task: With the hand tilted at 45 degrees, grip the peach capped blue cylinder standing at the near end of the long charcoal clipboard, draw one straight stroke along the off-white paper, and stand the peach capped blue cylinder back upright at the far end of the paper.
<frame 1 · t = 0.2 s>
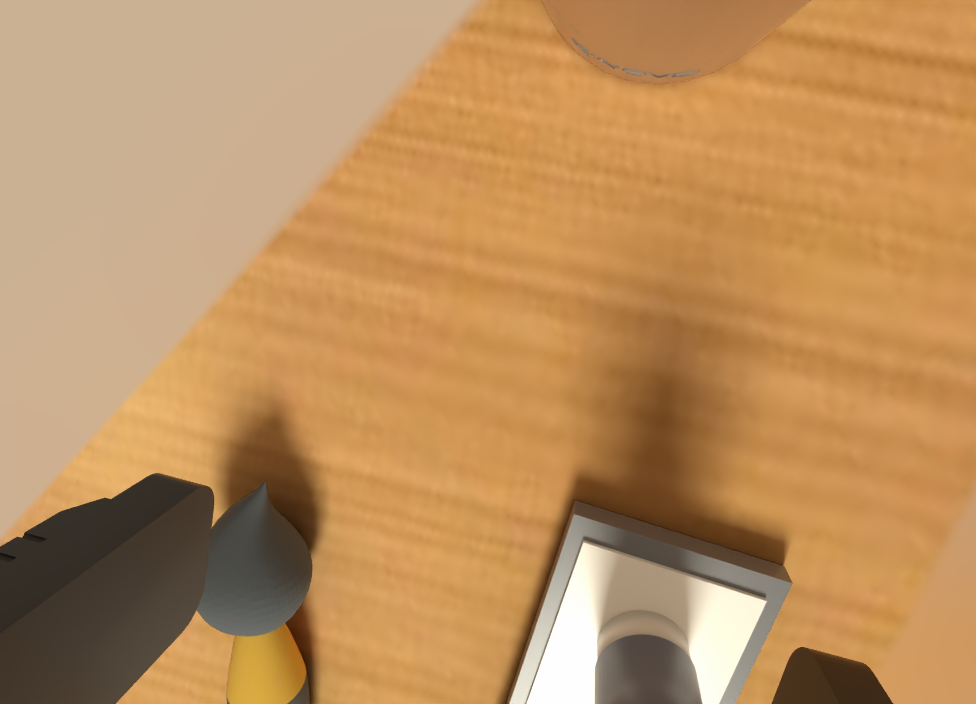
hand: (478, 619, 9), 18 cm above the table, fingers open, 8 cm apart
paintbrush: (295, 633, 32), on the table
peach capped blue cylinder: (642, 649, 27), point 1 cm above the table, touching clipboard
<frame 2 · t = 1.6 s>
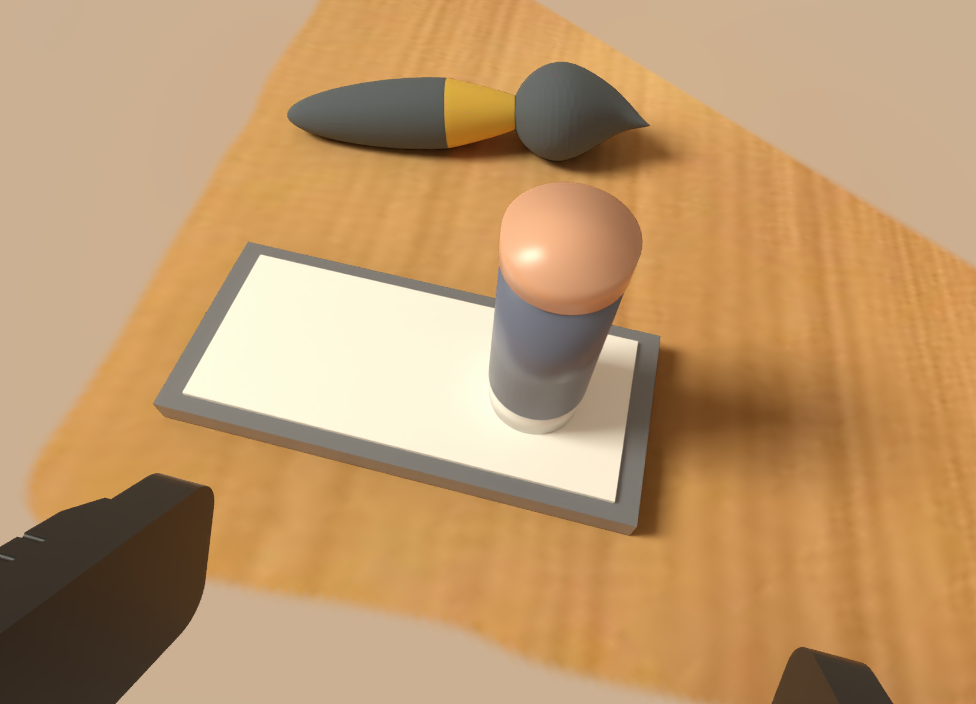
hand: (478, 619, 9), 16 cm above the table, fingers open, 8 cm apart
paintbrush: (464, 151, 37), on the table
clipboard: (421, 381, 29), on the table
peach capped blue cylinder: (533, 393, 27), point 1 cm above the table, touching clipboard
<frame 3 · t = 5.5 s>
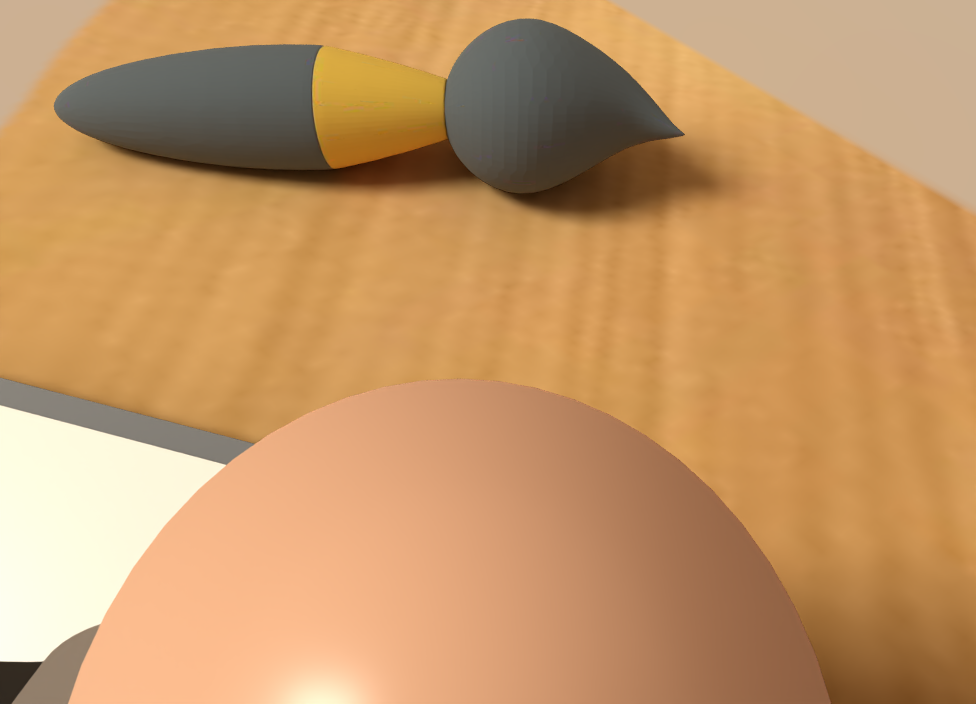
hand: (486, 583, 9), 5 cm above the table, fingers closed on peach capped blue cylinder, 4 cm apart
paintbrush: (367, 173, 22), on the table
clipboard: (224, 668, 14), on the table
when the fingers open (6 cm above the table, at t = 16.6 s): peach capped blue cylinder stays where it is, resting on clipboard.
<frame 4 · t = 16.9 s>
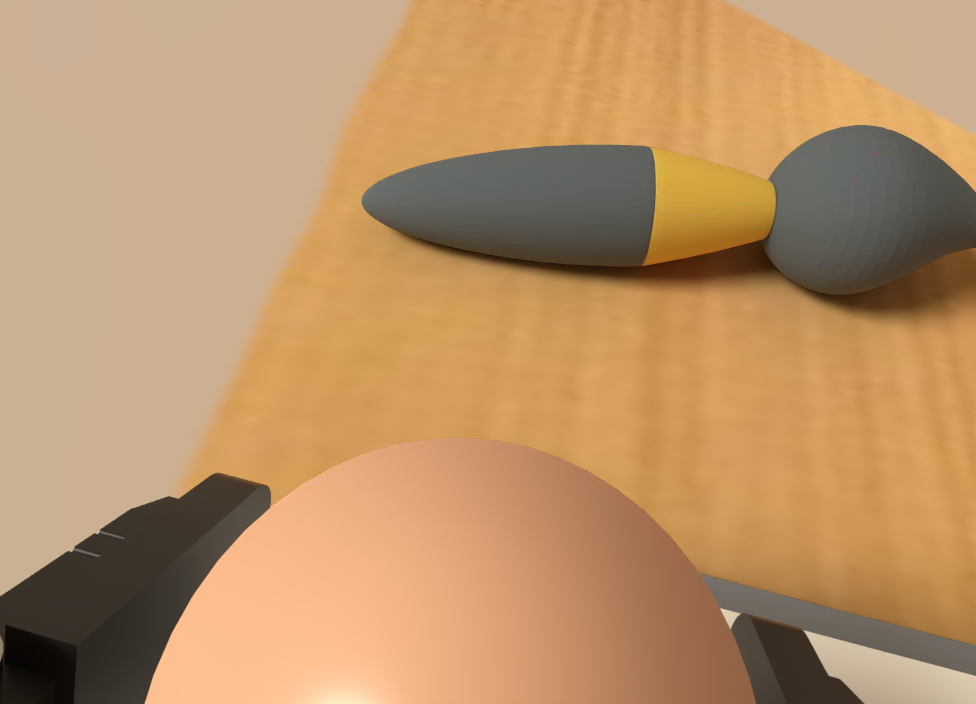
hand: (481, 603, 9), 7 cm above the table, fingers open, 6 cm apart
paintbrush: (657, 265, 22), on the table
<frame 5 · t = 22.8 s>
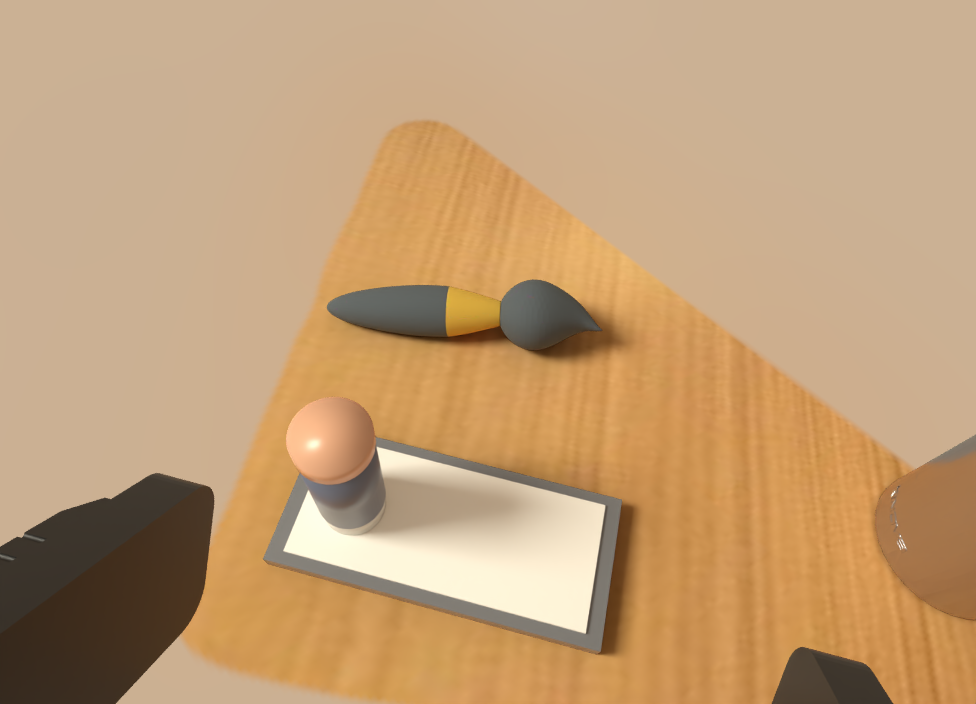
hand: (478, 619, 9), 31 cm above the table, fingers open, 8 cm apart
paintbrush: (461, 334, 48), on the table
clipboard: (449, 533, 40), on the table
peach capped blue cylinder: (354, 504, 39), point 1 cm above the table, touching clipboard
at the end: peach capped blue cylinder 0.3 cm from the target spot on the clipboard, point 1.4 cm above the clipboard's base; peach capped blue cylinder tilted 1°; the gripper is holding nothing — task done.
